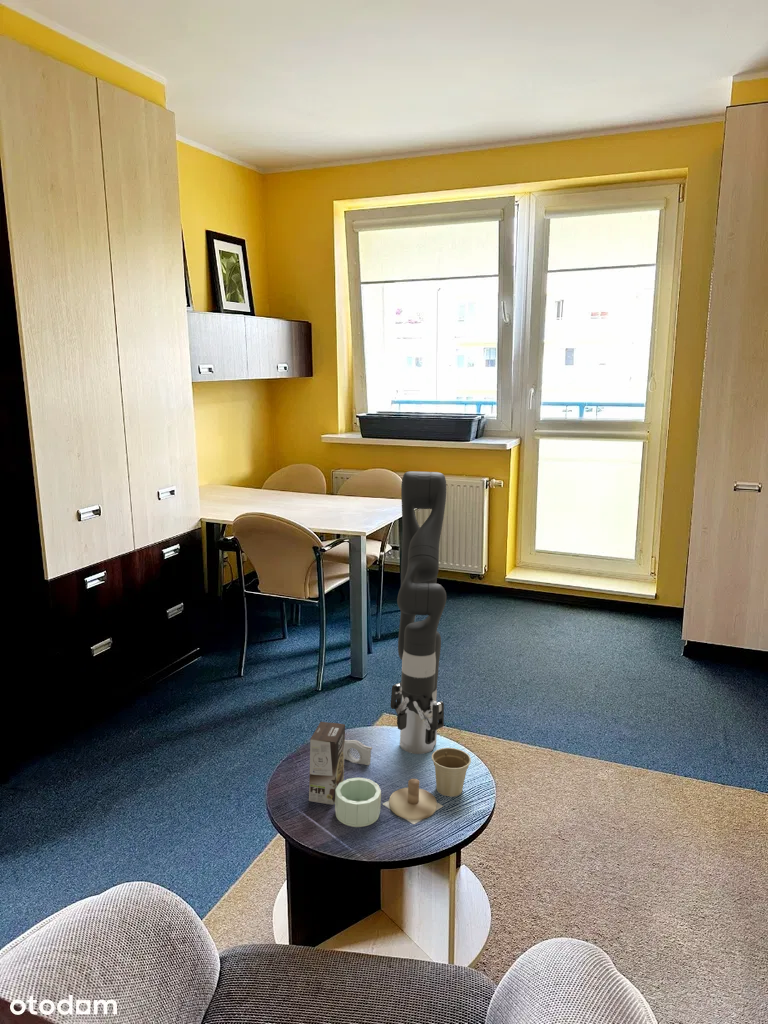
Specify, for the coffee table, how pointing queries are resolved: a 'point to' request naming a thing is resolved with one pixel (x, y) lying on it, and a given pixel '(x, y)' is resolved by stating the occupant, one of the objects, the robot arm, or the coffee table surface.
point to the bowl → (357, 802)
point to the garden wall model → (362, 750)
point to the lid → (412, 802)
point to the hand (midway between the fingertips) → (415, 735)
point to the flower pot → (450, 770)
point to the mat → (412, 820)
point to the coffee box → (326, 762)
